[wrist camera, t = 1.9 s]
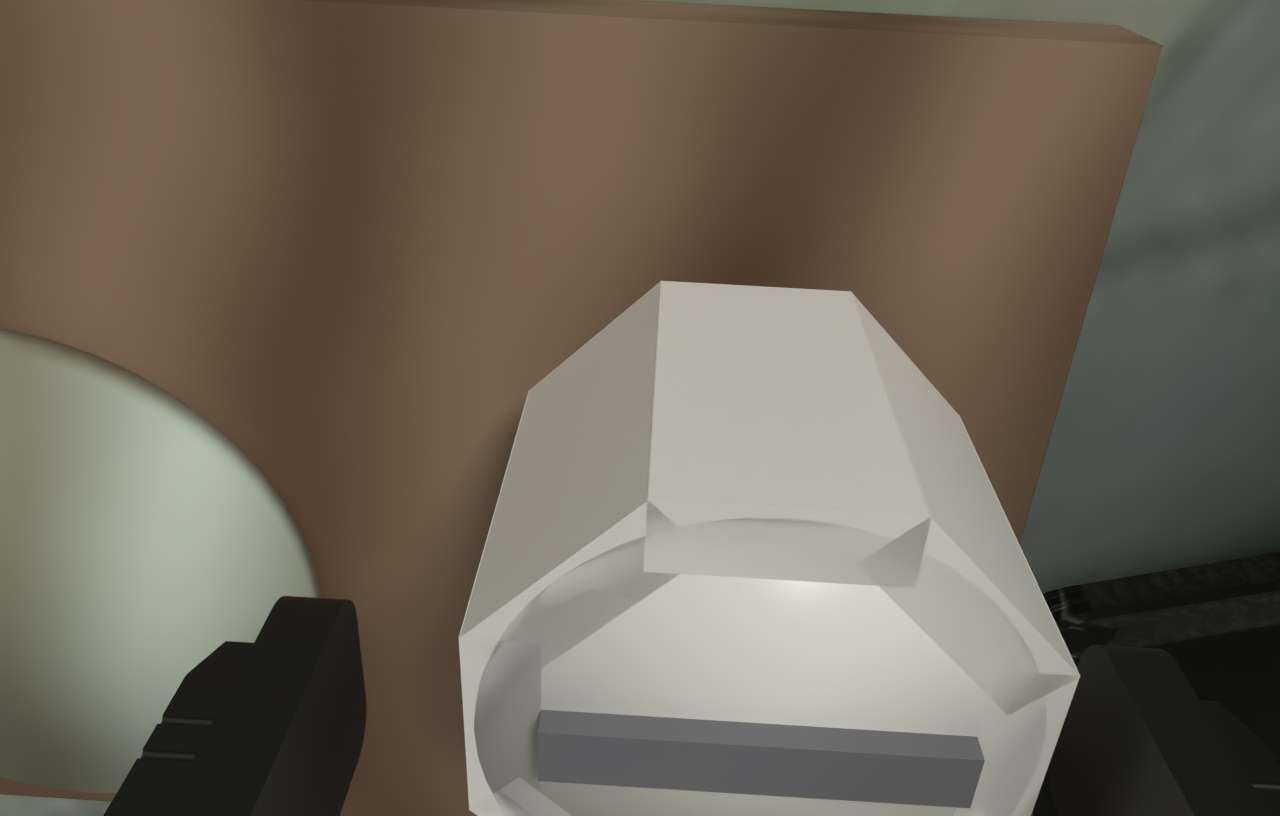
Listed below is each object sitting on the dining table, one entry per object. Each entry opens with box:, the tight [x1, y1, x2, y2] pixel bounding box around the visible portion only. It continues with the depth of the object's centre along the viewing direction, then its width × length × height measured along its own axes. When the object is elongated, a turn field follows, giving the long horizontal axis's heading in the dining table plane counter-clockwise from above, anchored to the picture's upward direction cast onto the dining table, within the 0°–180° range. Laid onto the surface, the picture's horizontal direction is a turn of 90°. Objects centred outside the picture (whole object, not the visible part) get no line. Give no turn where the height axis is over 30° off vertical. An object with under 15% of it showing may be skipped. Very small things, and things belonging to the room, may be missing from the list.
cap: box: [458, 280, 1080, 816], centre depth 12 cm, size 6×6×5 cm
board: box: [0, 0, 1163, 816], centre depth 15 cm, size 23×16×7 cm
